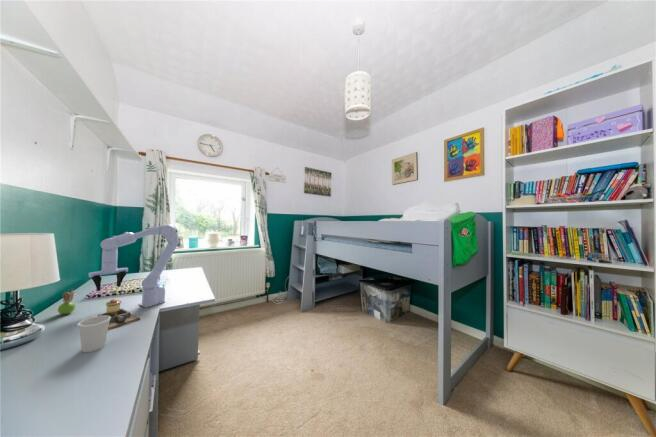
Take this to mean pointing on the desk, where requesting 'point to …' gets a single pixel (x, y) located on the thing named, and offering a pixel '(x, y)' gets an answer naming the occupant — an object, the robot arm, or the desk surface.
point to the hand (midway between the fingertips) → (108, 288)
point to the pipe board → (128, 320)
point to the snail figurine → (67, 303)
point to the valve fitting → (113, 308)
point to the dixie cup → (93, 332)
